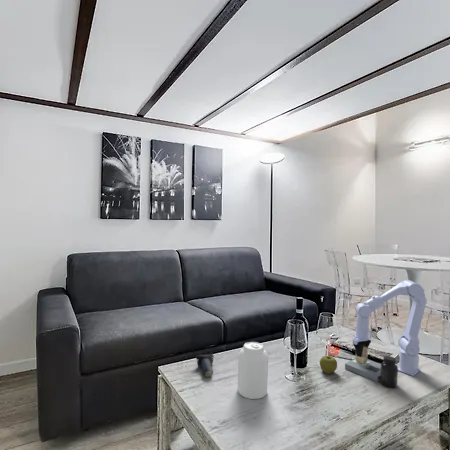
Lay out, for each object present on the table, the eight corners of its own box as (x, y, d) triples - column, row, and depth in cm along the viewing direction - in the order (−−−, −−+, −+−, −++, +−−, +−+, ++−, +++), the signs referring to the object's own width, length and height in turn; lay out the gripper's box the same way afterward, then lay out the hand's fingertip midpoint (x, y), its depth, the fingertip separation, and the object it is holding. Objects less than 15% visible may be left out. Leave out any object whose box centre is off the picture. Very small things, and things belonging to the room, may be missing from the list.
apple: (339, 376, 150) (339, 361, 150) (321, 375, 150) (322, 360, 150) (333, 368, 158) (334, 354, 158) (317, 368, 158) (318, 353, 158)
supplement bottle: (399, 389, 140) (400, 362, 140) (382, 387, 141) (383, 360, 141) (394, 381, 147) (395, 355, 146) (378, 379, 148) (379, 354, 148)
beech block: (359, 358, 163) (360, 345, 163) (367, 361, 160) (367, 347, 160) (355, 360, 160) (356, 347, 160) (363, 363, 157) (363, 349, 157)
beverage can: (197, 369, 157) (202, 383, 145) (195, 354, 156) (199, 367, 144) (215, 364, 159) (221, 377, 148) (213, 349, 158) (218, 362, 147)
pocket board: (359, 360, 167) (359, 355, 167) (390, 372, 155) (391, 367, 155) (344, 368, 158) (345, 363, 158) (377, 382, 146) (377, 376, 146)
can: (269, 386, 140) (271, 341, 139) (263, 402, 128) (265, 353, 127) (242, 381, 144) (243, 337, 143) (233, 396, 132) (235, 348, 131)
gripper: (361, 323, 167) (360, 348, 168) (347, 328, 158) (346, 356, 159) (375, 326, 162) (374, 353, 162) (361, 333, 153) (359, 361, 153)
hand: (361, 355), depth 160 cm, fingers closed on beech block, 4 cm apart
